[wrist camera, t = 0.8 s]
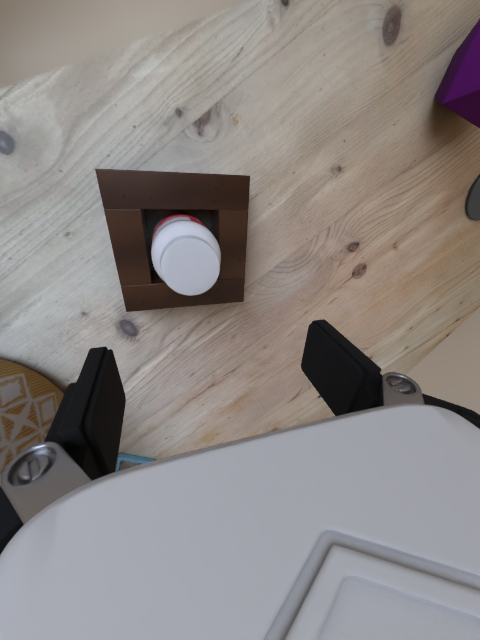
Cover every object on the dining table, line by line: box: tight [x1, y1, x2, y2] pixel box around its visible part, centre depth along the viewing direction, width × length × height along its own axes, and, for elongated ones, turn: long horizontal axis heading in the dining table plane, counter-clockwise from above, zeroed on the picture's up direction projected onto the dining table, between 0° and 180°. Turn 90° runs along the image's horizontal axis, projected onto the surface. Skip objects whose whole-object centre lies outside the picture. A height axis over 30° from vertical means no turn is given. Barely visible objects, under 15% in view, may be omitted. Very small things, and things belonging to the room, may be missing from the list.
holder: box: [95, 169, 250, 312], centre depth 27 cm, size 13×13×4 cm
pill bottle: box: [151, 211, 221, 296], centre depth 24 cm, size 6×6×11 cm
